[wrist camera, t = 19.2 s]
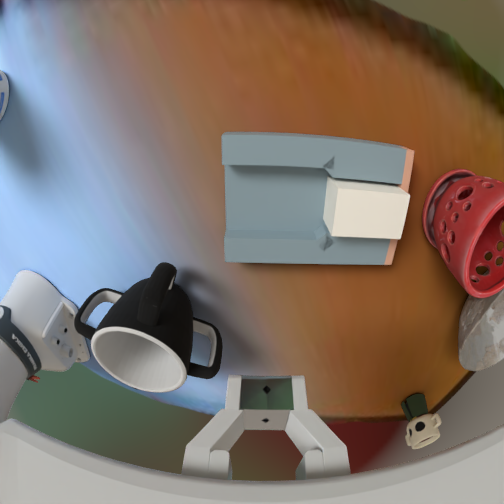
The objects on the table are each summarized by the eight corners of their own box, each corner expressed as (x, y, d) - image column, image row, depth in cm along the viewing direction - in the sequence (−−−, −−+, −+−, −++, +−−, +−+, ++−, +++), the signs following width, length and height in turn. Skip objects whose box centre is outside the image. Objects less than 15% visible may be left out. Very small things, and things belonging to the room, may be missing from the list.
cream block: (385, 222, 32) (400, 239, 28) (323, 218, 32) (331, 236, 28) (392, 182, 29) (410, 195, 25) (327, 176, 30) (338, 188, 26)
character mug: (417, 384, 51) (434, 431, 40) (435, 386, 52) (452, 428, 41) (388, 410, 56) (400, 453, 45) (406, 410, 57) (418, 451, 46)
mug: (144, 345, 45) (123, 401, 34) (93, 269, 38) (53, 322, 27) (232, 330, 42) (225, 397, 32) (189, 239, 35) (161, 301, 24)
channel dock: (382, 252, 35) (391, 264, 32) (227, 248, 35) (225, 262, 32) (401, 145, 28) (414, 150, 25) (225, 131, 28) (221, 135, 26)
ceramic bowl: (423, 287, 38) (452, 331, 29) (519, 207, 30) (557, 235, 22) (447, 351, 46) (466, 387, 37) (525, 288, 38) (549, 317, 30)
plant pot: (407, 253, 35) (449, 309, 25) (419, 158, 29) (480, 190, 18) (474, 247, 34) (518, 292, 24) (489, 165, 28) (547, 195, 17)
